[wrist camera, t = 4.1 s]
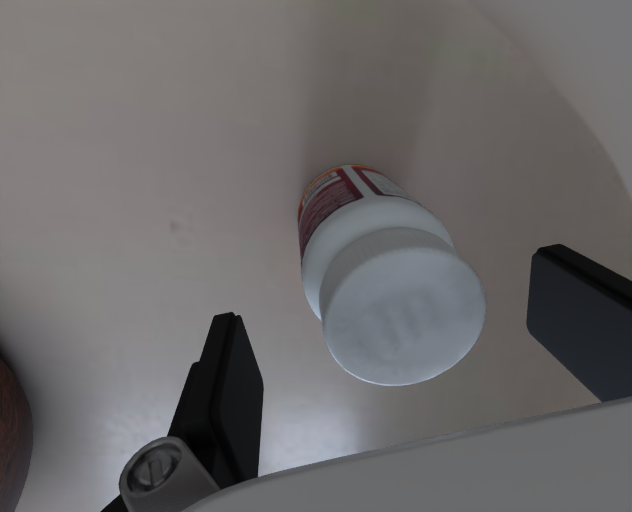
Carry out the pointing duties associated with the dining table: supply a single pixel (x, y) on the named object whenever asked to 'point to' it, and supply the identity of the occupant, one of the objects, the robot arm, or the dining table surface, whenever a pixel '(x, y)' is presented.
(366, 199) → the pill bottle
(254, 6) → the dining table surface
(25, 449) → the wooden bowl
